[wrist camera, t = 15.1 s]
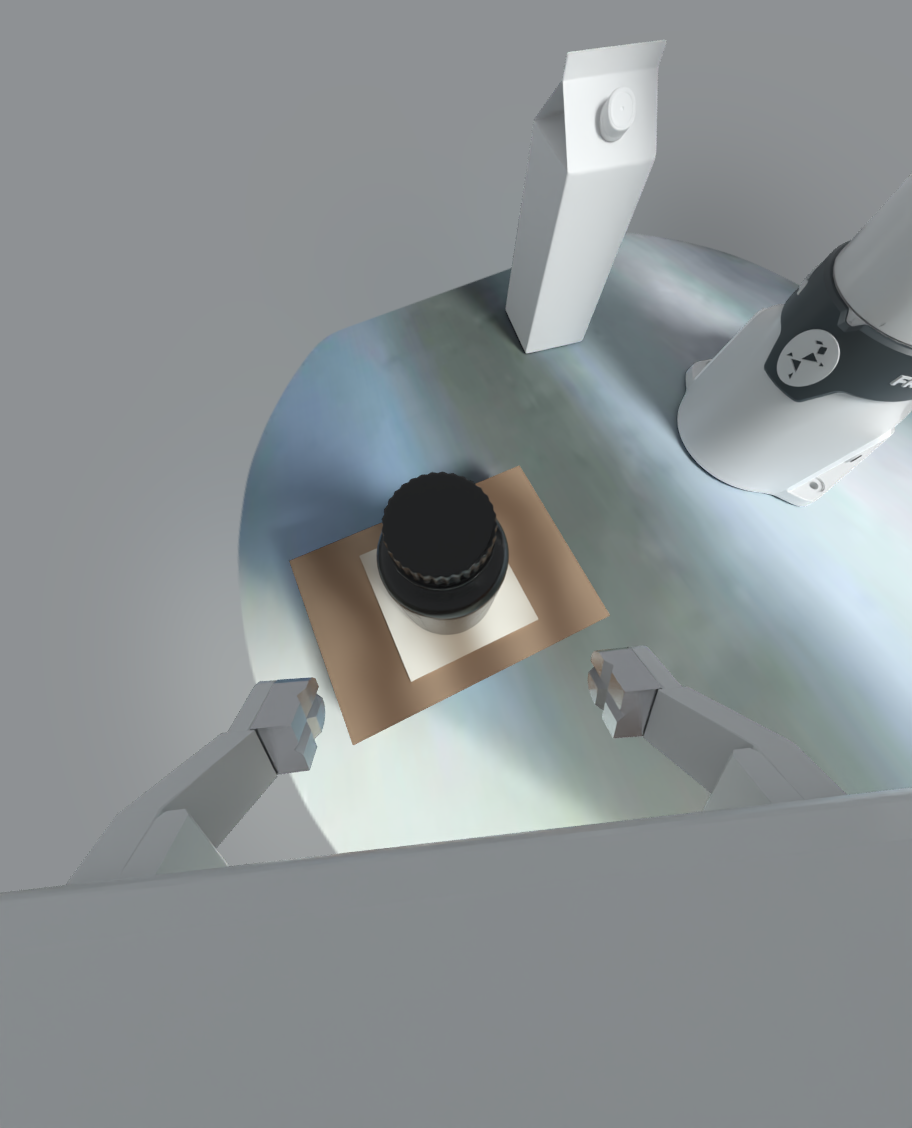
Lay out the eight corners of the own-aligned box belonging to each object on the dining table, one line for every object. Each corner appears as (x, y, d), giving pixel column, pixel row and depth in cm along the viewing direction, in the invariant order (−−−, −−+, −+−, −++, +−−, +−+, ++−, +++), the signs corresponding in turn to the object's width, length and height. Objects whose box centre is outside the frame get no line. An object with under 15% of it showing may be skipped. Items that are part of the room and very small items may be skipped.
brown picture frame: (509, 494, 34) (520, 463, 29) (584, 624, 30) (611, 614, 25) (314, 577, 31) (287, 559, 26) (370, 732, 27) (351, 746, 22)
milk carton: (504, 311, 41) (547, 27, 23) (559, 299, 42) (642, 15, 24) (525, 355, 39) (589, 81, 21) (582, 342, 40) (692, 67, 22)
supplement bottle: (476, 535, 27) (495, 433, 15) (505, 620, 25) (552, 577, 13) (389, 559, 26) (341, 471, 14) (412, 648, 24) (377, 628, 13)
